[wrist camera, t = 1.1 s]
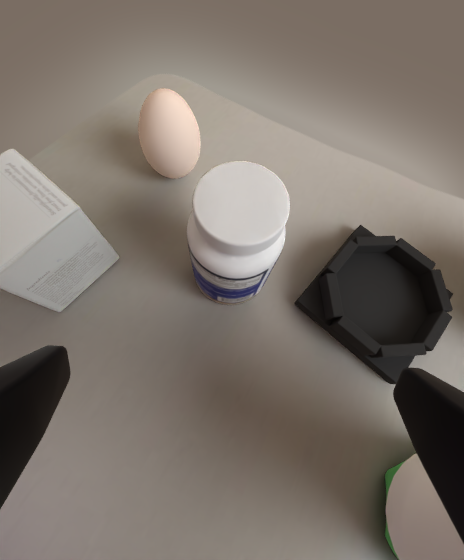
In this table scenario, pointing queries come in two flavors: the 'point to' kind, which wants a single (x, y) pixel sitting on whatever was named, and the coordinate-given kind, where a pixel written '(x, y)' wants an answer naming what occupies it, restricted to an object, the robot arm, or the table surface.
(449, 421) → the robot arm
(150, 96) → the egg
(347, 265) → the foot pad
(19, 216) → the white cardboard box
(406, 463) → the cup
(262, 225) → the pill bottle
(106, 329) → the table surface
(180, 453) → the table surface
